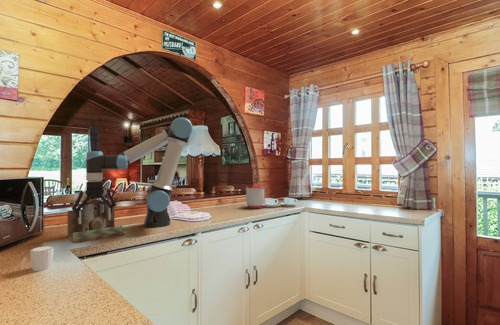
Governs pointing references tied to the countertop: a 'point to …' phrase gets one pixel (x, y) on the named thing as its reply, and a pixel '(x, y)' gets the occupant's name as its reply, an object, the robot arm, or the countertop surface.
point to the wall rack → (82, 236)
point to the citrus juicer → (255, 196)
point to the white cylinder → (41, 258)
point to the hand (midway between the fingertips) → (94, 221)
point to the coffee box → (93, 215)
